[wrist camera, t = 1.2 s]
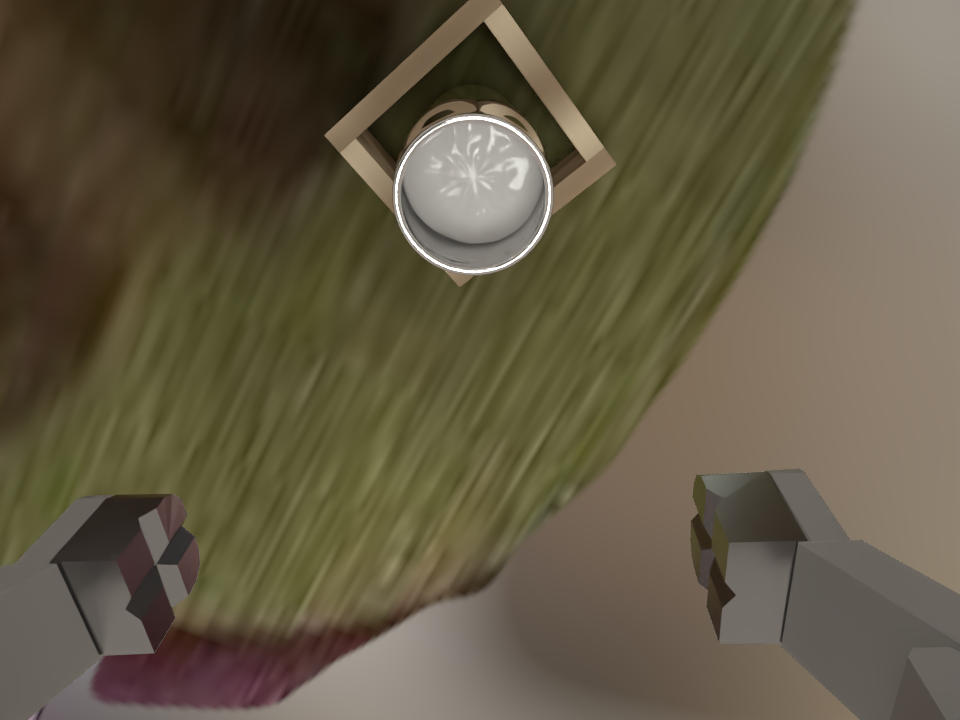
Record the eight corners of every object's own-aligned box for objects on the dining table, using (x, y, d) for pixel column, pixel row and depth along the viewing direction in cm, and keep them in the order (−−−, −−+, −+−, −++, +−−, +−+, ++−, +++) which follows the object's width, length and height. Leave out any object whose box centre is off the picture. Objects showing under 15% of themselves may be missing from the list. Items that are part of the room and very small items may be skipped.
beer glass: (460, 48, 38) (455, 67, 25) (553, 127, 40) (595, 183, 27) (391, 148, 41) (353, 215, 27) (482, 217, 43) (488, 311, 29)
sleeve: (337, 124, 40) (324, 135, 36) (485, -15, 37) (487, -18, 33) (460, 265, 44) (459, 287, 40) (603, 151, 41) (616, 164, 37)
